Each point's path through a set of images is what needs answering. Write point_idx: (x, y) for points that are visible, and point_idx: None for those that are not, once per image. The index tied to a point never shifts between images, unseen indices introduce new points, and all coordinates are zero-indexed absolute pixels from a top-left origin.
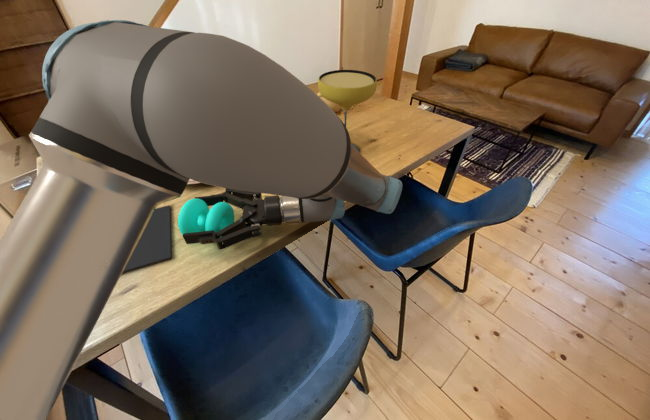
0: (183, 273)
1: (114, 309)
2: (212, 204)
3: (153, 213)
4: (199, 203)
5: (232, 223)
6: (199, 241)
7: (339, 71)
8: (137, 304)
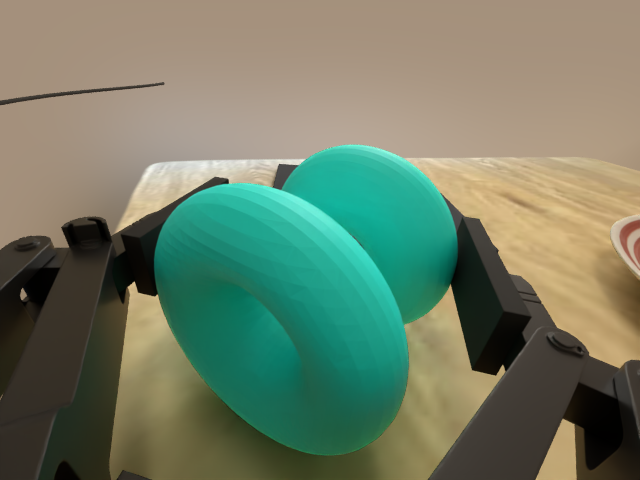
0: None
1: (188, 189)
2: (460, 306)
3: (456, 226)
4: (388, 194)
5: (85, 337)
6: None
7: None
8: (166, 205)
